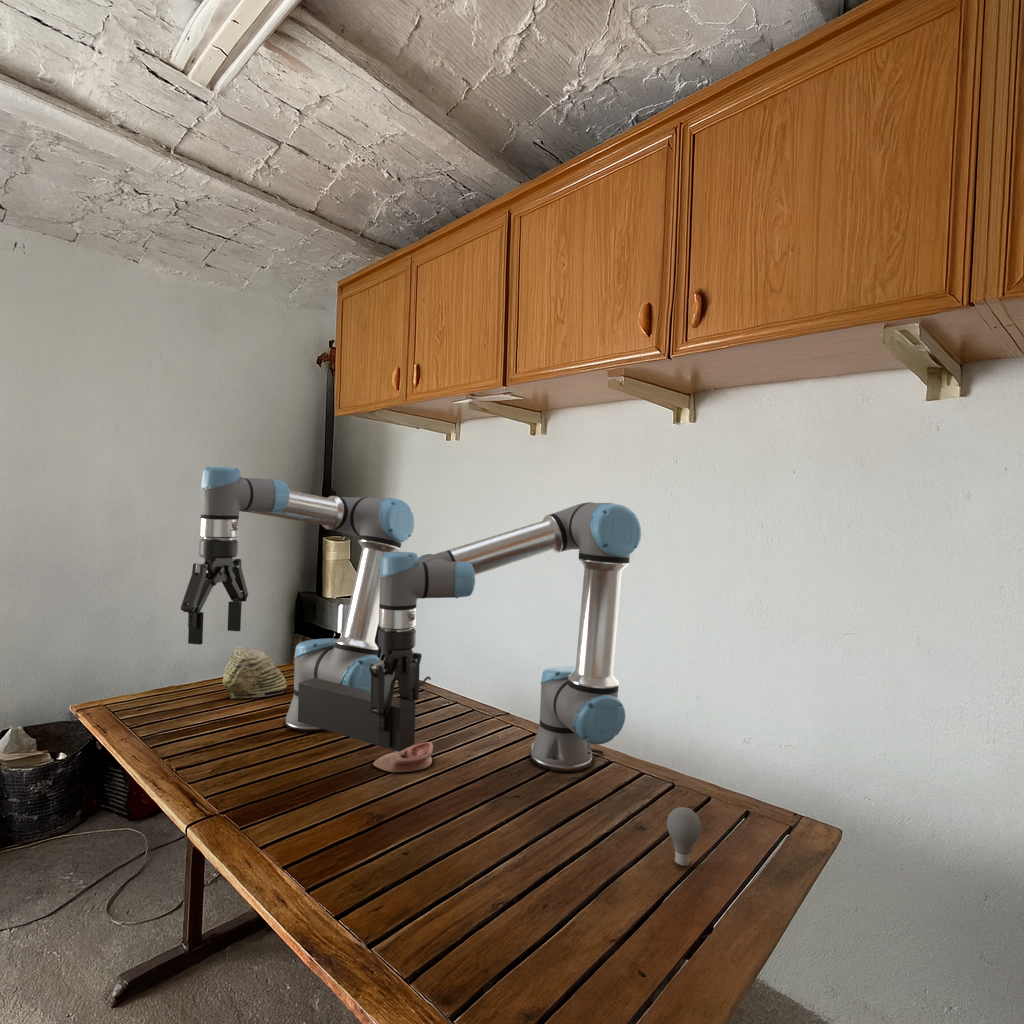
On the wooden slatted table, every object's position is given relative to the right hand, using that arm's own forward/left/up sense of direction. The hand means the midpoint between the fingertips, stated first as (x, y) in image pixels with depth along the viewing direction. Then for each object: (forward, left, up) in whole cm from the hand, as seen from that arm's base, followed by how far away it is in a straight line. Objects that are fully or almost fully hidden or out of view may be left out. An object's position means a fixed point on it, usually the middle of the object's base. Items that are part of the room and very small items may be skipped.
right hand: (394, 741), depth 130 cm
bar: (+6, -10, -1) cm, 11 cm away
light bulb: (-42, +39, -14) cm, 59 cm away
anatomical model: (-9, -20, -14) cm, 26 cm away
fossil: (+18, -86, -14) cm, 89 cm away
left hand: (+33, -25, +18) cm, 45 cm away
